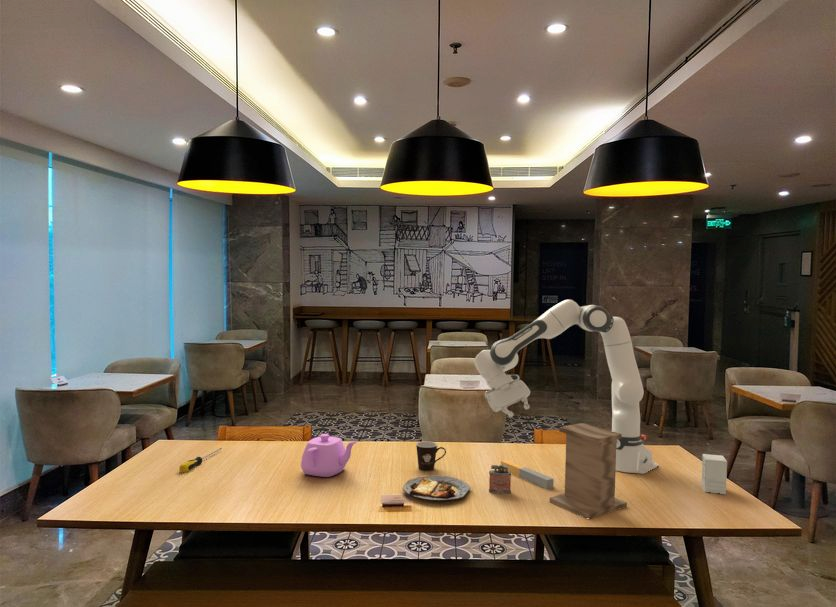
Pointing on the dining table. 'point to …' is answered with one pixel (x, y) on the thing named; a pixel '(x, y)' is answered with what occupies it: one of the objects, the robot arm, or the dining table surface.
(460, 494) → the food plate
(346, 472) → the dining table surface
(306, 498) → the dining table surface
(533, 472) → the gray and orange bar
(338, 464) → the teapot
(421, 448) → the coffee mug
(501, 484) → the lighter
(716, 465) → the supplement box
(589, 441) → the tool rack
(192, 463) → the screwdriver
